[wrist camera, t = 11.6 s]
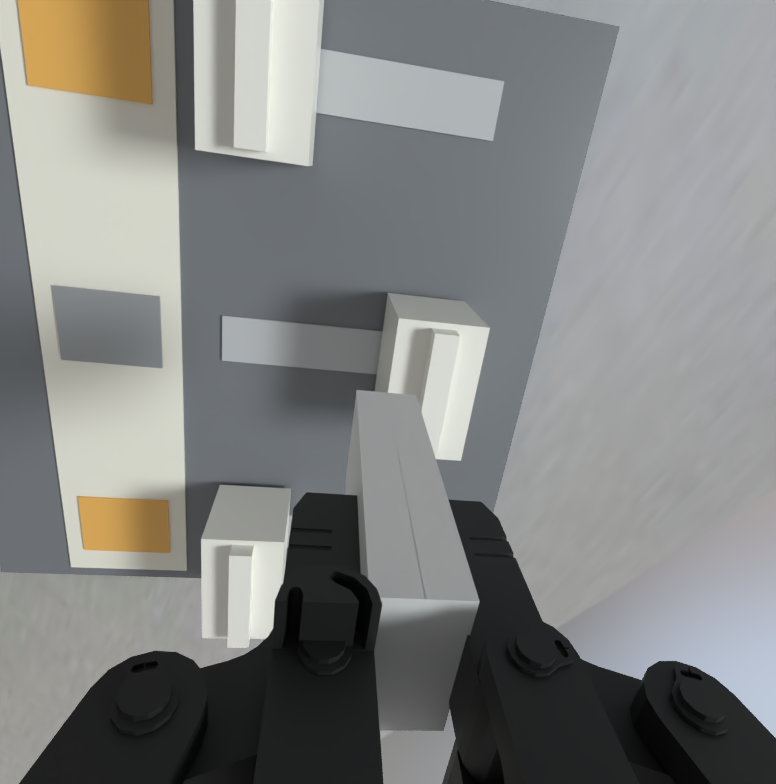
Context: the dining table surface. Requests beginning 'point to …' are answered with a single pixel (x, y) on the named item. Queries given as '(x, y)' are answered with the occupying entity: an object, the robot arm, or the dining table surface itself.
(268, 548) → the white plastic block
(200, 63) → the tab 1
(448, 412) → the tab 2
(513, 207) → the switch bank
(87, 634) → the dining table surface
